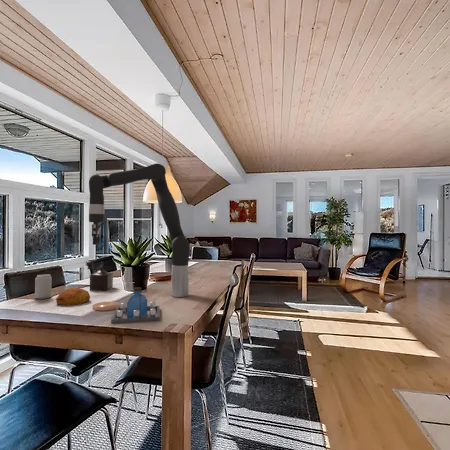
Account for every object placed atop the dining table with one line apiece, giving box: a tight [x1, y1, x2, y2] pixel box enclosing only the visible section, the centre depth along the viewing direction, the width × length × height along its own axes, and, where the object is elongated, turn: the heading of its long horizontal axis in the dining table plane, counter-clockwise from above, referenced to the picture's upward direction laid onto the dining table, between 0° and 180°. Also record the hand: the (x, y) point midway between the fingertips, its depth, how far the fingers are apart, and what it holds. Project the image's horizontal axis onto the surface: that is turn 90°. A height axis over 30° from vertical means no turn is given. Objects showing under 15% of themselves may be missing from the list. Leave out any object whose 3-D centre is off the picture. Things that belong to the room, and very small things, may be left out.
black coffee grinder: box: [85, 260, 114, 292], centre depth 180 cm, size 16×11×18 cm
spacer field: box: [110, 301, 161, 324], centre depth 130 cm, size 19×18×4 cm
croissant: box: [55, 287, 91, 306], centre depth 151 cm, size 14×16×8 cm
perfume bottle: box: [126, 286, 148, 318], centre depth 131 cm, size 6×6×12 cm
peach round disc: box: [92, 301, 120, 312], centre depth 143 cm, size 12×12×1 cm
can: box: [34, 273, 53, 300], centre depth 159 cm, size 8×8×12 cm
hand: (96, 244), depth 158 cm, fingers open, 8 cm apart
